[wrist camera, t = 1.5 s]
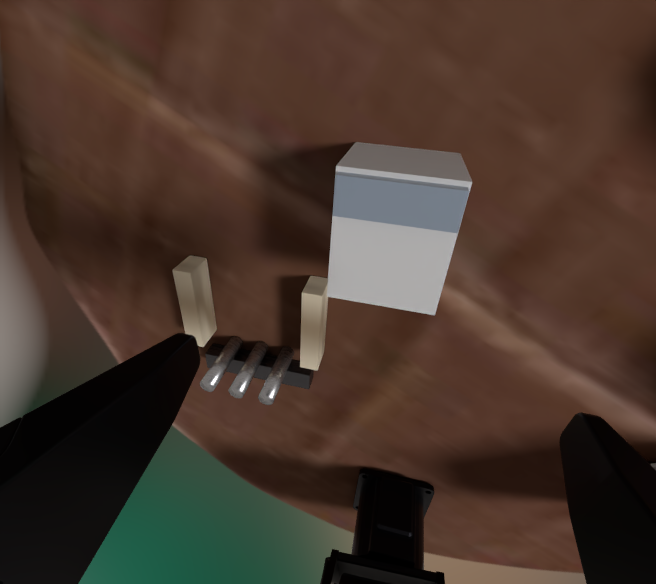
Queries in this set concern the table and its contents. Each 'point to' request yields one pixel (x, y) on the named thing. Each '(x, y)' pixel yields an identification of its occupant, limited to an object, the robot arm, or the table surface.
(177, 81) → the table surface
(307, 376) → the silver rod block
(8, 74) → the table surface
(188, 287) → the guide rails
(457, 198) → the plug block
